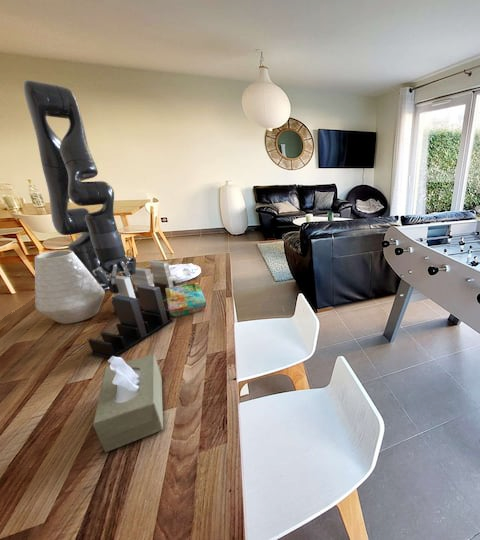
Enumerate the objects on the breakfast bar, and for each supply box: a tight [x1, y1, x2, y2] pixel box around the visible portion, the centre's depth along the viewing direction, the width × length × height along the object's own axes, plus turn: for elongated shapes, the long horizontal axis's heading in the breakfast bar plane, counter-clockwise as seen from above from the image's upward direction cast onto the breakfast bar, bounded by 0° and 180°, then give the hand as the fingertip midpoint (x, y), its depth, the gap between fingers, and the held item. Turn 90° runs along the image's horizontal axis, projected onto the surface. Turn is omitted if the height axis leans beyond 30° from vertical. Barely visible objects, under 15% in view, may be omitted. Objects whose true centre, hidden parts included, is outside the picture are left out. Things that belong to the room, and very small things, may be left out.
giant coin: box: [151, 262, 202, 285], centre depth 134 cm, size 20×20×3 cm
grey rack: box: [87, 284, 174, 360], centre depth 89 cm, size 21×8×14 cm, turn 166°
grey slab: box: [111, 259, 177, 315], centre depth 109 cm, size 21×8×14 cm, turn 166°
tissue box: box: [92, 353, 164, 453], centre depth 64 cm, size 19×10×16 cm, turn 33°
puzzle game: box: [165, 281, 207, 318], centre depth 111 cm, size 12×5×20 cm
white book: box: [113, 274, 136, 298], centre depth 102 cm, size 2×7×13 cm, turn 76°
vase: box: [34, 249, 106, 325], centre depth 97 cm, size 18×17×23 cm
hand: (122, 289), depth 101 cm, fingers open, 4 cm apart
